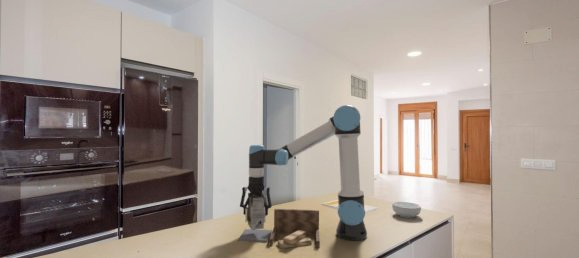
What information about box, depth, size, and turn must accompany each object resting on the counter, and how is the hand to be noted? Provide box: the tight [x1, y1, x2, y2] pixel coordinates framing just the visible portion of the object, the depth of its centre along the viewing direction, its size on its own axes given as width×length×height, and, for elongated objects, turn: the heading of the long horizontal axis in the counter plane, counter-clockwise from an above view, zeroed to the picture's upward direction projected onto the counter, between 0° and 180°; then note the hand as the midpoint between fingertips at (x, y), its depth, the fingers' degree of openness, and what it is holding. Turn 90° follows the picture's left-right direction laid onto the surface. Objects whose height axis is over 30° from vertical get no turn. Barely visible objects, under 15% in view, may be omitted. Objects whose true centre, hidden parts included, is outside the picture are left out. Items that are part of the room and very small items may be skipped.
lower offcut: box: [277, 236, 313, 249], centre depth 133 cm, size 15×4×2 cm, turn 110°
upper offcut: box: [282, 230, 307, 246], centre depth 134 cm, size 13×4×2 cm, turn 146°
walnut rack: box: [268, 208, 321, 249], centre depth 139 cm, size 23×18×12 cm
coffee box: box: [247, 192, 265, 230], centre depth 143 cm, size 9×6×16 cm
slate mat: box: [237, 228, 273, 243], centre depth 143 cm, size 14×14×1 cm
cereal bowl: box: [391, 201, 422, 219], centre depth 180 cm, size 17×17×7 cm
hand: (255, 221), depth 143 cm, fingers closed on coffee box, 8 cm apart
